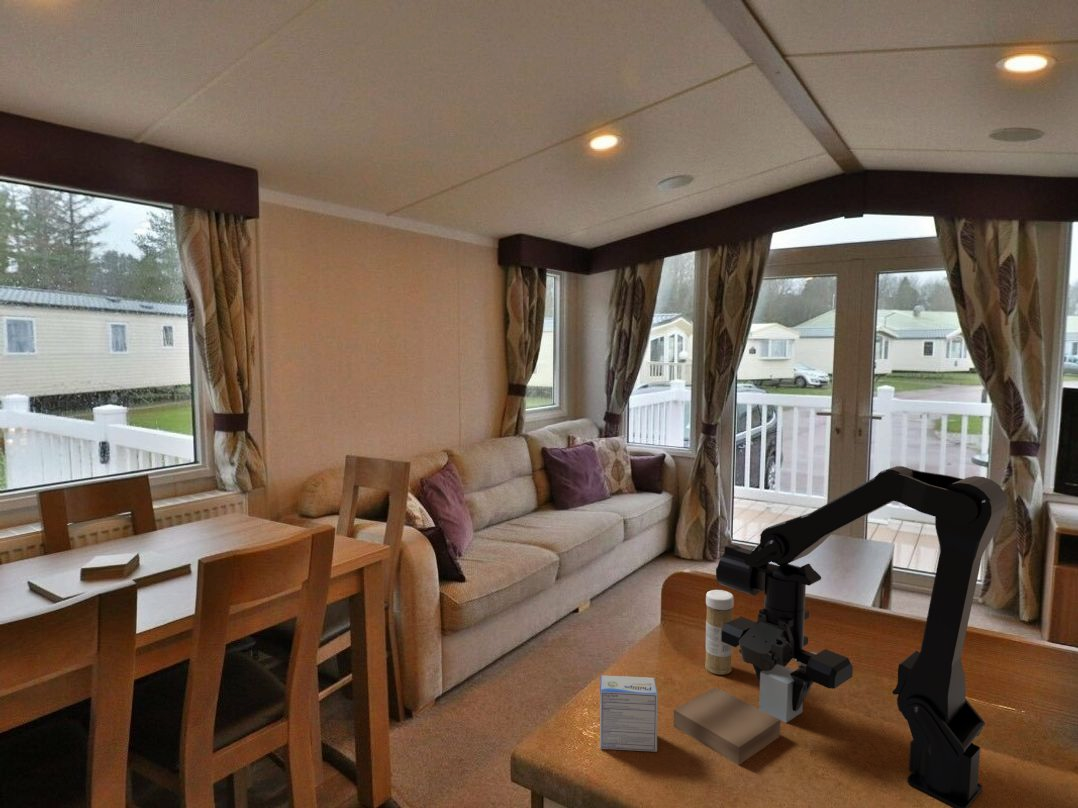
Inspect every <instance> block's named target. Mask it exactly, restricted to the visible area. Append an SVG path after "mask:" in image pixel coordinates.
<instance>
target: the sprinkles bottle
mask: <svg viewBox="0 0 1078 808" xmlns="http://www.w3.org/2000/svg"><path fill="white" fill-rule="evenodd" d="M734 600H735V598H734V595H733V594H732V593H731V592H729V591H726V590H723V589H712V590H709V591H707V592H706V594H705V604H706V620H705V662H704V666H705V669H706V671H708V672H709V673H711V674H714V675H721V676H724V675H728V674H729V673H731V672H732V670H733V668H732V653H733V646H731V645H728V644H726V643H724V642H722V641H721V629H722V627H723V625H724V624H725V623H728V622H730V621H732V620H733V610H734V606H735V605H734V604H735V603H734V602H735V601H734Z"/></svg>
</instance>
